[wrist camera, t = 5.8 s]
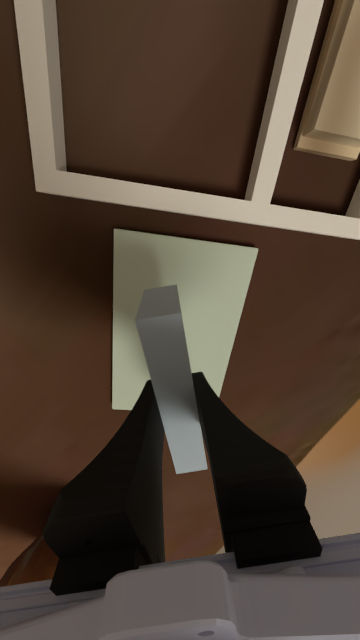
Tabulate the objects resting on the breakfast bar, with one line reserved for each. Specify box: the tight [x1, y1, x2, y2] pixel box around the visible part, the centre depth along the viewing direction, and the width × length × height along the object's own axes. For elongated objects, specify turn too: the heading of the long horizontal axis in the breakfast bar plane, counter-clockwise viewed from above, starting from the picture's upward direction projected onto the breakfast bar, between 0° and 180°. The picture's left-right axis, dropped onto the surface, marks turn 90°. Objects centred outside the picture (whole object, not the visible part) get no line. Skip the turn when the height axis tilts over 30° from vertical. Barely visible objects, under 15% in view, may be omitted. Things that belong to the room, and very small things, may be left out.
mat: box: [112, 229, 258, 410], centre depth 19 cm, size 10×16×1 cm, turn 172°
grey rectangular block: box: [135, 284, 207, 474], centre depth 14 cm, size 2×11×4 cm, turn 9°
